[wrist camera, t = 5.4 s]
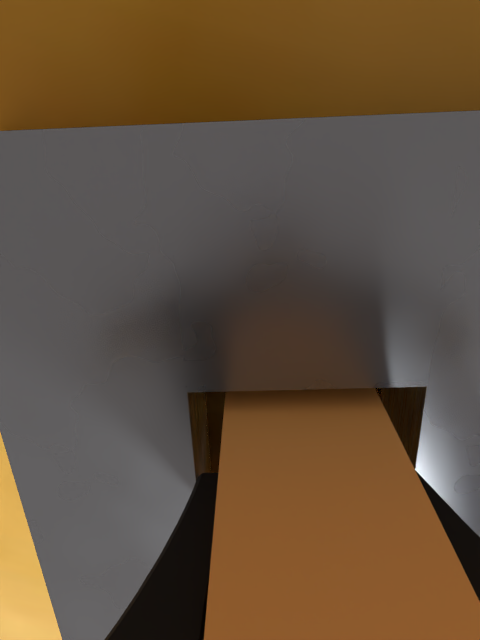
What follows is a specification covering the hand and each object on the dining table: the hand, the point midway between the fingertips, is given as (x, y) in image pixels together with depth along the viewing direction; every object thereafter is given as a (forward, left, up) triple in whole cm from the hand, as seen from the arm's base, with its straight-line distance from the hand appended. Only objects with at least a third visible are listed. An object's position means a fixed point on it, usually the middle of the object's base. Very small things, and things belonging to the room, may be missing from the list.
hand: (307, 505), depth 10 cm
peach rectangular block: (0, 0, -2) cm, 2 cm away
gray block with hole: (0, 0, -4) cm, 4 cm away
